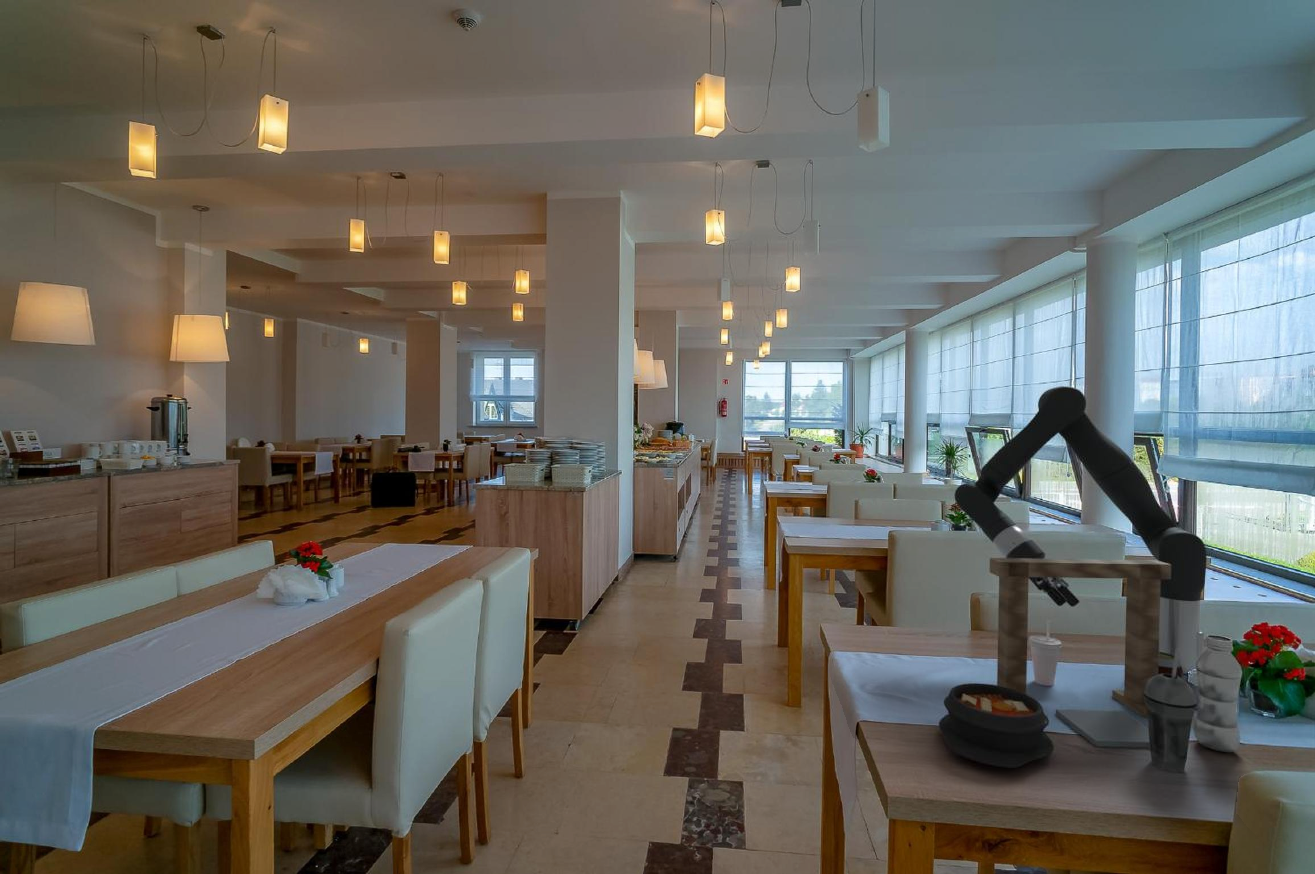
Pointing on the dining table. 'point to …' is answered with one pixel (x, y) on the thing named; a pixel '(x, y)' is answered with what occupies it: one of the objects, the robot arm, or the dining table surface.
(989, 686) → the casserole
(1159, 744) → the beverage cup
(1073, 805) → the dining table surface
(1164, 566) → the archway
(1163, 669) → the mate gourd
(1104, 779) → the dining table surface
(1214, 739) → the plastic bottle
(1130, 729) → the mat
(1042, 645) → the smoothie
